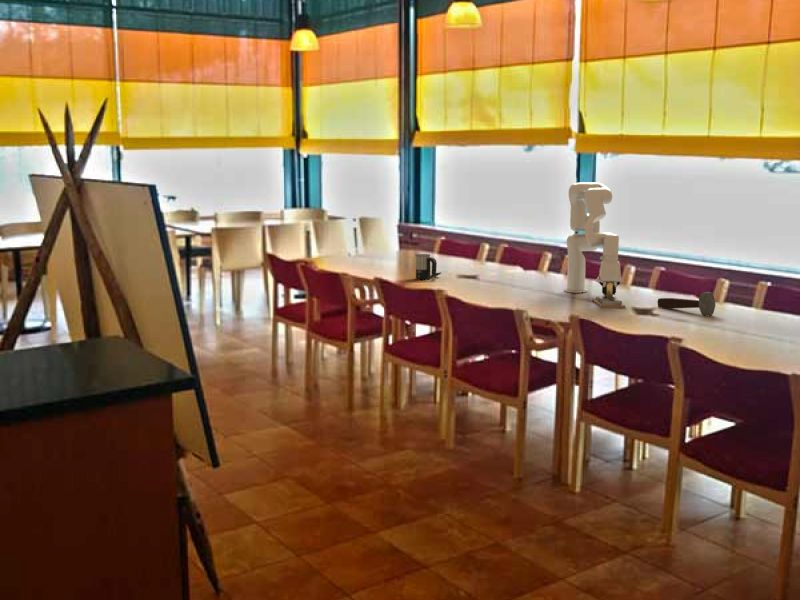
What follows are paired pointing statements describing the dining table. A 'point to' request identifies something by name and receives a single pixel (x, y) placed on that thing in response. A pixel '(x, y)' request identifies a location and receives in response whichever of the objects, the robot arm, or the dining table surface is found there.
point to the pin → (609, 289)
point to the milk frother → (425, 266)
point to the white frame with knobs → (608, 302)
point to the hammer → (691, 303)
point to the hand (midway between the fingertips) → (608, 294)
